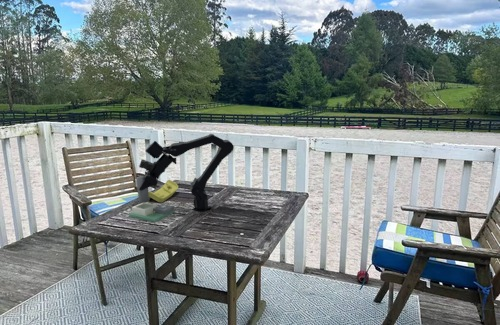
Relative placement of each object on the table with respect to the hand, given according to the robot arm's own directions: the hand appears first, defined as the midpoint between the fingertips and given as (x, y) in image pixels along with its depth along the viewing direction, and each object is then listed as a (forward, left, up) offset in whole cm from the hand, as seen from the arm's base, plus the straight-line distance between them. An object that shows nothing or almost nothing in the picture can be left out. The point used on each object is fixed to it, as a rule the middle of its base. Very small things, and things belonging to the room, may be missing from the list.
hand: (140, 188), depth 178 cm
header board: (-4, -2, -13) cm, 14 cm away
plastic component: (+8, -26, -14) cm, 30 cm away
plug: (-1, -1, -7) cm, 7 cm away
